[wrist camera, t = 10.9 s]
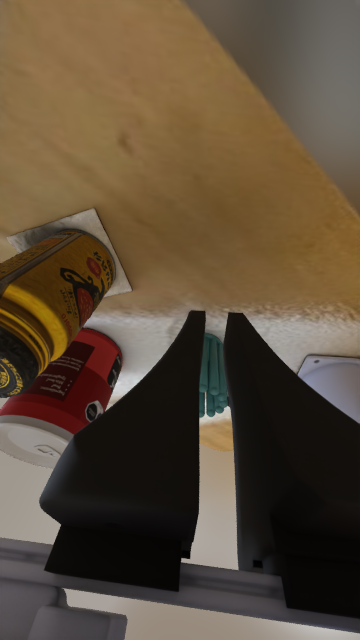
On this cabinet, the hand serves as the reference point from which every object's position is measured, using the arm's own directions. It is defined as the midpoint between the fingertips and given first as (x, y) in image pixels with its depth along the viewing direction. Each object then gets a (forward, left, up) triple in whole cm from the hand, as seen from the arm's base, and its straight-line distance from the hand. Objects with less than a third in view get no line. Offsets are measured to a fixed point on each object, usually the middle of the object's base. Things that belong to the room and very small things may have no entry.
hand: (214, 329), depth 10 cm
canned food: (+13, +13, -10) cm, 21 cm away
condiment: (+12, +2, -10) cm, 16 cm away
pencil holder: (0, +9, -6) cm, 11 cm away
